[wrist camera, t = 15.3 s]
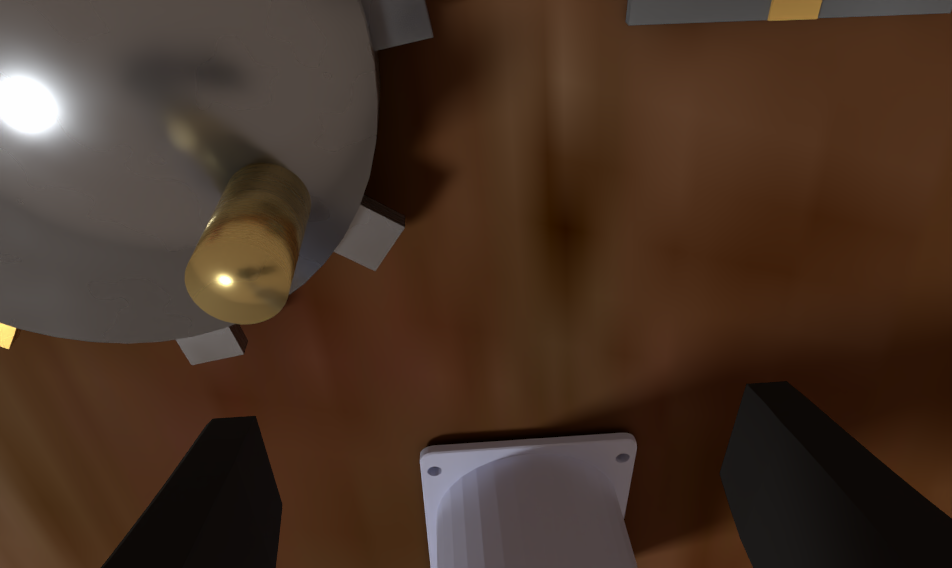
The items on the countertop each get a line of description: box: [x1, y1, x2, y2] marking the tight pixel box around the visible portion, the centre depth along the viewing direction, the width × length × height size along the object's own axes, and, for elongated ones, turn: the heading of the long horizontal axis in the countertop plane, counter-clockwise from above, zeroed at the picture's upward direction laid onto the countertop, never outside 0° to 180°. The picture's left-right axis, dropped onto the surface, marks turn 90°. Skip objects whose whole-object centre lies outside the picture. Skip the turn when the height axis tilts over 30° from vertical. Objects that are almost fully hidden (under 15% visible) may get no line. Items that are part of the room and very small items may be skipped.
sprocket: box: [0, 0, 433, 365], centre depth 14 cm, size 17×17×5 cm
